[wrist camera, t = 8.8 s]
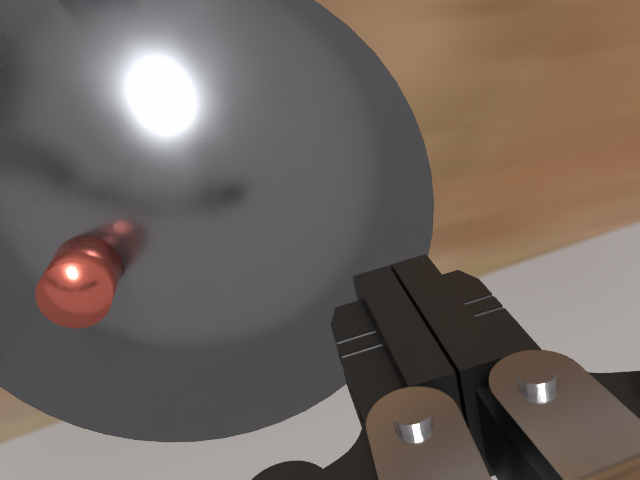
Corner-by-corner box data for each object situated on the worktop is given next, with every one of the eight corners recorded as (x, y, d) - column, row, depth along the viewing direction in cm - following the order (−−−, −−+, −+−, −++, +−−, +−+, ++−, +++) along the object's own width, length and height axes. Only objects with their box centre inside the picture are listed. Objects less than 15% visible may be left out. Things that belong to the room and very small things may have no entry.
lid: (-316, -106, 15) (-455, -124, 12) (350, -265, 15) (381, -322, 12) (29, 470, 23) (1, 545, 20) (450, 352, 24) (482, 407, 21)
